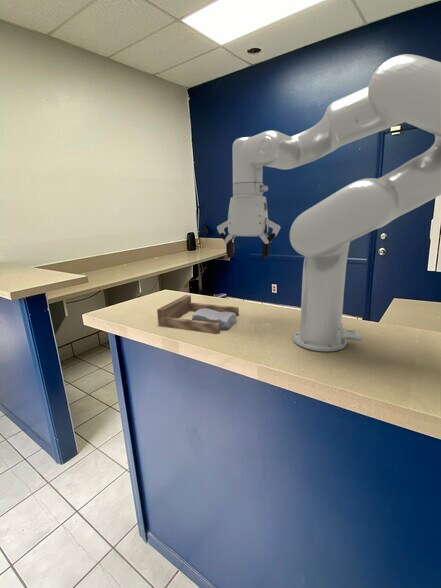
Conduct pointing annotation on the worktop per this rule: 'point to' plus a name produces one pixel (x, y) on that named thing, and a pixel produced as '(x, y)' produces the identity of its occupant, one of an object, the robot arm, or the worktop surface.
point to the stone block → (215, 317)
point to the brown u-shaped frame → (179, 307)
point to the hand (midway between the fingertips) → (247, 257)
